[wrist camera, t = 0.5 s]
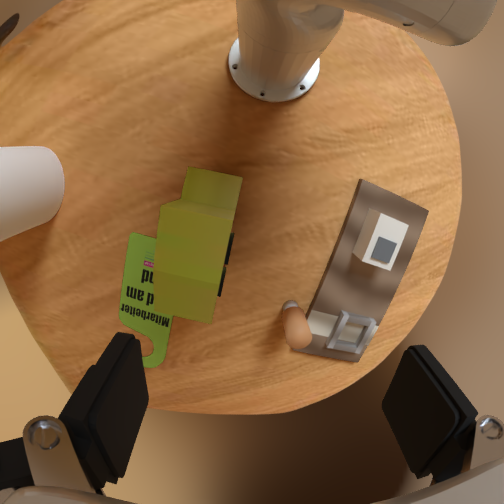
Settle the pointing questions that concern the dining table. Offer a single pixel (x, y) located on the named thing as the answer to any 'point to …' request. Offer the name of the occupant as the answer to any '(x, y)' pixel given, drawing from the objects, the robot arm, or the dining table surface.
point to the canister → (28, 188)
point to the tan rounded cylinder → (295, 326)
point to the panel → (359, 278)
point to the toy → (195, 245)
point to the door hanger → (143, 298)
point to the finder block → (380, 239)
